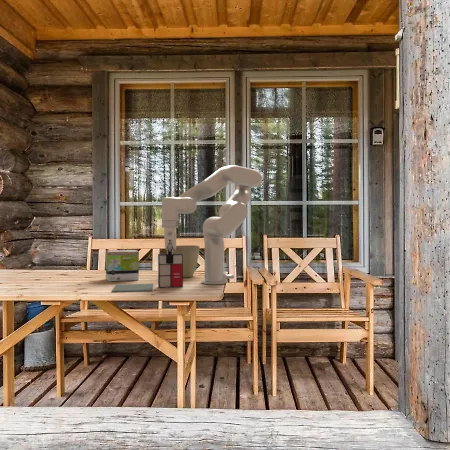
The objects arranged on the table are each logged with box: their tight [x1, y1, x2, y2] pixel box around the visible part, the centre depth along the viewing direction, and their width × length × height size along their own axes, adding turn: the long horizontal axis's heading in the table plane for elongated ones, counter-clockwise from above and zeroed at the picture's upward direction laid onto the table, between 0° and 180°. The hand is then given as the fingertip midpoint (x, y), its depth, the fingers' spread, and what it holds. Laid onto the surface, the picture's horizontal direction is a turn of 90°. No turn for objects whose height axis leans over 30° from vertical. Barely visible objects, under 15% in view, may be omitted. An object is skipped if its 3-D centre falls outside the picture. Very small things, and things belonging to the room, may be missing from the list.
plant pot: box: [173, 244, 201, 278], centre depth 233 cm, size 15×15×16 cm
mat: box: [111, 283, 154, 293], centre depth 197 cm, size 17×16×1 cm
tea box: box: [105, 249, 140, 282], centre depth 222 cm, size 15×10×15 cm, turn 112°
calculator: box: [157, 253, 184, 289], centre depth 201 cm, size 11×4×15 cm, turn 101°
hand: (169, 262), depth 201 cm, fingers open, 9 cm apart
